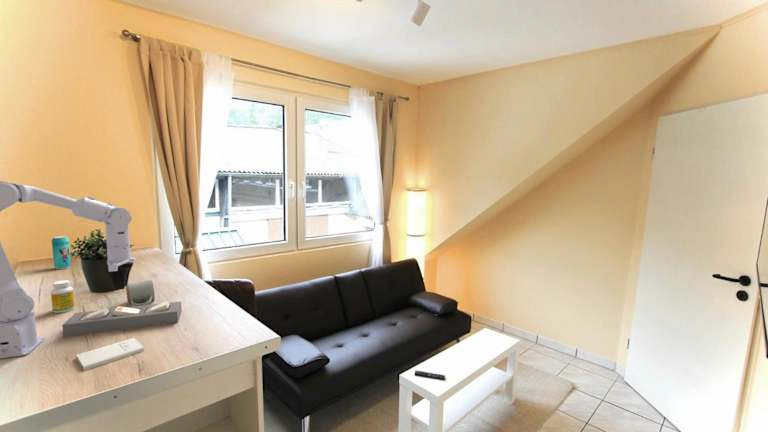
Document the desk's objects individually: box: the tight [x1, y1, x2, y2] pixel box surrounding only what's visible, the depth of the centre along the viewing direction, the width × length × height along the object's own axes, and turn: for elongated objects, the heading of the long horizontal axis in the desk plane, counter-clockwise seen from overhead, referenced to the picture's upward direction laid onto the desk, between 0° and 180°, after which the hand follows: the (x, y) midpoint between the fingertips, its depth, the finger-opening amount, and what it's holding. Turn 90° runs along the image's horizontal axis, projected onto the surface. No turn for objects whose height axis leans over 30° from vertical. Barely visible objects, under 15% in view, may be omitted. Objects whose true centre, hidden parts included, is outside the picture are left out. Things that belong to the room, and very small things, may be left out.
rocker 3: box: [146, 300, 170, 312], centre depth 110 cm, size 4×6×2 cm, turn 114°
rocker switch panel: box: [61, 301, 183, 338], centre depth 107 cm, size 9×28×4 cm, turn 114°
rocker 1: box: [81, 307, 109, 320], centre depth 103 cm, size 4×6×2 cm, turn 114°
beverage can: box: [51, 235, 72, 270], centre depth 160 cm, size 6×6×15 cm
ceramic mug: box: [125, 278, 156, 307], centre depth 123 cm, size 11×8×8 cm
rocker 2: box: [113, 305, 141, 316], centre depth 106 cm, size 4×6×2 cm, turn 114°
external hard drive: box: [75, 337, 145, 371], centre depth 89 cm, size 2×8×12 cm
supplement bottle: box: [50, 279, 75, 314], centre depth 115 cm, size 5×5×10 cm
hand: (121, 287), depth 108 cm, fingers open, 2 cm apart
